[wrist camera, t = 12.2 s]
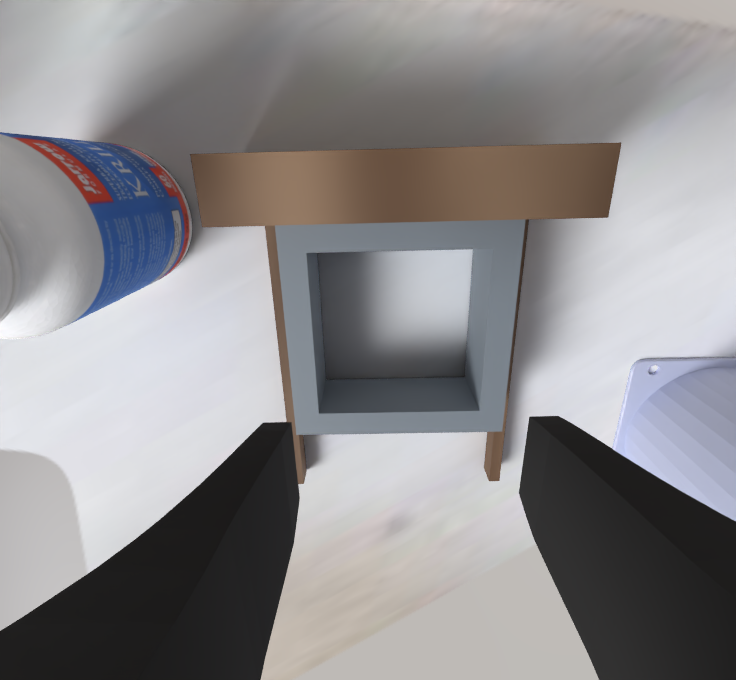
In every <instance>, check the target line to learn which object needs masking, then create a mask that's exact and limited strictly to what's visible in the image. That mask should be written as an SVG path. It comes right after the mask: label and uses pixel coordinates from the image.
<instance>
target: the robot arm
mask: <svg viewBox="0 0 736 680" xmlns="http://www.w3.org/2000/svg"><path fill="white" fill-rule="evenodd" d="M653 365H657V366H658V369H657V371H656V372H655V373H652V374H649V373H648V370H649V368H650V367H651V366H653ZM519 494H520V498H521V501H522V504H523V507H524V510H525V514H526V517H527V520H528V523H529V526H530V529H531V531H532V534H533V537H534V540H535V542H536V544H537V546H538V548H539V551H540V553H541V555H542V557H543V559H544V561H545V563H546V566H547V568H548V570H549V572H550V574H551V576H552V578H553V580H554V583H555V585H556V587H557V589H558V591H559V593H560V595H561V597H562V600H563V602H564V604H565V606H566V608H567V610H568V612H569V614H570V616H571V618H572V620H573V623H574V625H575V627H576V629H577V631H578V633H579V635H580V637H581V639H582V642H583V644H584V646H585V648H586V650H587V652H588V654H589V657H590V659H591V661H592V664H593V666H594V668H595V670H596V673H597V675H598V678H599V680H736V357H732V358H680V359H642V360H638V361H636V362H635V363H634V364H633V365H632V367H631V369H630V373H629V377H628V382H627V386H626V390H625V395H624V399H623V404H622V408H621V412H620V417H619V421H618V425H617V430H616V434H615V439H614V443H613V447H612V448H610V447H608V446H607V445H605V444H604V443H602V442H601V441H599V440H597V439H596V438H594V437H593V436H591V435H590V434H588V433H586V432H585V431H583V430H582V429H580V428H578V427H577V426H575V425H573V424H572V423H570V422H568V421H566V420H565V419H563V418H561V417H559V416H542V417H529V424H528V432H527V439H526V446H525V453H524V460H523V468H522V475H521V482H520V489H519ZM299 498H300V497H299V488H298V478H297V469H296V460H295V450H294V441H293V432H292V422H276V423H263V424H261V425H260V426H259V427H258V428H257V429H256V430H255V431H254V432H253V433H252V434H251V435H250V436H249V437H248V438H247V439H246V440H245V441H244V442H243V443H242V444H241V445H240V446H239V447H238V448H237V449H236V450H235V451H234V452H233V453H232V454H231V455H230V456H229V457H228V458H227V459H226V460H225V461H224V462H223V463H222V464H221V465H220V466H219V467H218V468H217V469H216V470H215V471H214V472H213V473H212V474H211V475H210V476H209V477H207V478H206V479H205V480H204V481H203V482H202V483H201V484H200V485H199V486H198V487H197V488H196V489H194V490H193V491H192V492H191V493H190V494H189V495H188V496H186V497H185V498H184V499H183V500H182V501H181V502H180V503H178V504H177V505H176V506H175V507H174V508H173V509H172V510H170V511H169V512H168V513H167V514H166V515H165V516H164V517H162V518H161V519H160V520H159V521H158V522H156V523H155V524H154V525H153V526H152V527H150V528H149V529H148V530H146V531H145V532H144V533H143V534H141V535H140V536H139V537H138V538H136V539H135V540H134V541H132V542H131V543H130V544H128V545H127V546H126V547H124V548H123V549H122V550H120V551H119V552H118V553H116V554H115V555H114V556H112V557H111V558H110V559H108V560H107V561H105V562H104V563H103V564H101V565H100V566H99V567H97V568H96V569H94V570H93V571H91V572H90V573H89V574H87V575H86V576H84V577H82V578H81V579H80V580H78V581H76V582H75V583H73V584H72V585H70V586H69V587H67V588H66V589H64V590H63V591H61V592H60V593H58V594H57V595H55V596H54V597H52V598H51V599H49V600H48V601H46V602H45V603H43V604H42V605H40V606H39V607H37V608H36V609H34V610H33V611H31V612H30V613H28V614H27V615H25V616H24V617H22V618H21V619H19V620H17V621H16V622H14V623H12V624H11V625H9V626H8V627H6V628H4V629H3V630H1V631H0V680H260V679H261V675H262V670H263V665H264V660H265V656H266V652H267V648H268V644H269V640H270V636H271V632H272V628H273V624H274V620H275V616H276V612H277V608H278V604H279V600H280V596H281V592H282V588H283V584H284V580H285V576H286V572H287V568H288V564H289V560H290V556H291V552H292V548H293V544H294V537H295V530H296V522H297V514H298V506H299Z"/></svg>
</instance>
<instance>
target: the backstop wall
mask: <svg viewBox="0 0 736 680" xmlns="http://www.w3.org/2000/svg"><path fill="white" fill-rule="evenodd" d="M620 148H621V143H590V144H552V145H514V146H477V147H439V148H402V149H364V150H326V151H289V152H251V153H214V154H190V156H191V162H192V168H193V174H194V180H195V186H196V192H197V198H198V204H199V210H200V216H201V222H202V227H233V226H265V230H266V239H267V248H268V257H269V266H270V275H271V284H272V293H273V302H274V311H275V320H276V329H277V338H278V347H279V356H280V365H281V374H282V383H283V392H284V401H285V410H286V419H287V422H292V432H293V441H294V450H295V460H296V469H297V478H298V484H304V480H305V475H306V471H307V470H306V460H305V449H304V439H303V435H296V426H295V417H294V407H293V397H292V387H291V378H290V368H289V358H288V348H287V339H286V329H285V319H284V310H283V300H282V290H281V280H280V271H279V261H278V251H277V241H276V232H275V225H316V224H358V223H399V222H441V221H483V220H524V219H526V220H525V230H524V239H523V248H522V257H521V266H520V275H519V284H518V293H517V302H516V311H515V320H514V329H513V338H512V347H511V356H510V365H509V375H508V384H507V393H506V402H505V411H504V420H503V429H502V432H487V443H486V453H485V464H484V469H485V472H486V474H487V477H488V480H489V481H499V478H500V469H501V461H502V452H503V443H504V434H505V425H506V416H507V407H508V399H509V390H510V381H511V372H512V363H513V354H514V345H515V337H516V328H517V319H518V310H519V301H520V292H521V284H522V275H523V266H524V257H525V248H526V239H527V230H528V222H529V219H566V218H607V217H608V215H609V209H610V204H611V198H612V193H613V187H614V181H615V176H616V170H617V165H618V159H619V154H620Z"/></svg>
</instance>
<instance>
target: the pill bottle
mask: <svg viewBox="0 0 736 680" xmlns="http://www.w3.org/2000/svg"><path fill="white" fill-rule="evenodd" d="M191 236H192V219H191V213H190V209H189V206H188V203H187V200H186V198H185V196H184V194H183V192H182V190H181V188H180V186H179V185H178V183H177V182H176V180H175V179H174V178H173V177H172V176H171V174H170V173H169V172H168V171H167V170H166V169H165V168H164V167H163V166H161V165H160V164H159V163H158V162H156V161H155V160H154V159H152V158H151V157H149V156H147V155H146V154H144V153H142V152H140V151H137V150H135V149H132V148H129V147H126V146H121V145H117V144H111V143H101V142H90V141H81V140H71V139H62V138H52V137H41V136H31V135H20V134H10V133H2V132H0V338H3V339H23V338H31V337H36V336H41V335H44V334H47V333H50V332H52V331H55V330H57V329H59V328H62V327H64V326H66V325H69V324H71V323H73V322H75V321H77V320H79V319H81V318H83V317H85V316H87V315H89V314H91V313H93V312H95V311H97V310H99V309H101V308H103V307H105V306H107V305H109V304H111V303H113V302H115V301H118V300H120V299H121V298H123V297H125V296H127V295H129V294H131V293H133V292H135V291H137V290H140V289H141V288H143V287H145V286H147V285H149V284H151V283H153V282H155V281H157V280H159V279H161V278H163V277H164V276H166V275H167V274H169V273H170V272H171V271H173V270H174V269H175V268H176V267H177V266H178V265H179V264H180V262H181V261H182V259H183V258H184V256H185V255H186V253H187V250H188V248H189V245H190V241H191Z"/></svg>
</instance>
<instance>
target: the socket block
mask: <svg viewBox="0 0 736 680" xmlns="http://www.w3.org/2000/svg"><path fill="white" fill-rule="evenodd" d="M525 220H526V219H524V220H483V221H441V222H399V223H358V224H316V225H275V232H276V241H277V251H278V261H279V271H280V280H281V290H282V300H283V310H284V319H285V329H286V339H287V348H288V358H289V368H290V378H291V387H292V397H293V407H294V417H295V426H296V435H323V434H383V433H442V432H502V429H503V420H504V411H505V402H506V393H507V384H508V375H509V365H510V356H511V347H512V338H513V329H514V320H515V311H516V302H517V293H518V284H519V275H520V266H521V257H522V248H523V239H524V230H525ZM456 249H473V259H472V274H471V289H470V303H469V318H468V333H467V348H466V363H465V377H443V378H389V379H336V380H326V372H325V357H324V343H323V328H322V313H321V298H320V284H319V269H318V254H317V253H326V252H369V251H413V250H456Z"/></svg>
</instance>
